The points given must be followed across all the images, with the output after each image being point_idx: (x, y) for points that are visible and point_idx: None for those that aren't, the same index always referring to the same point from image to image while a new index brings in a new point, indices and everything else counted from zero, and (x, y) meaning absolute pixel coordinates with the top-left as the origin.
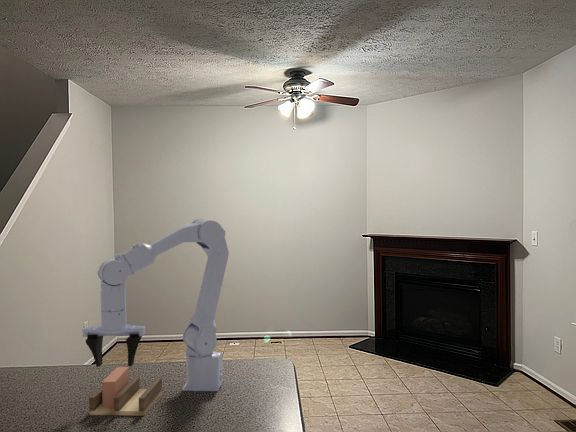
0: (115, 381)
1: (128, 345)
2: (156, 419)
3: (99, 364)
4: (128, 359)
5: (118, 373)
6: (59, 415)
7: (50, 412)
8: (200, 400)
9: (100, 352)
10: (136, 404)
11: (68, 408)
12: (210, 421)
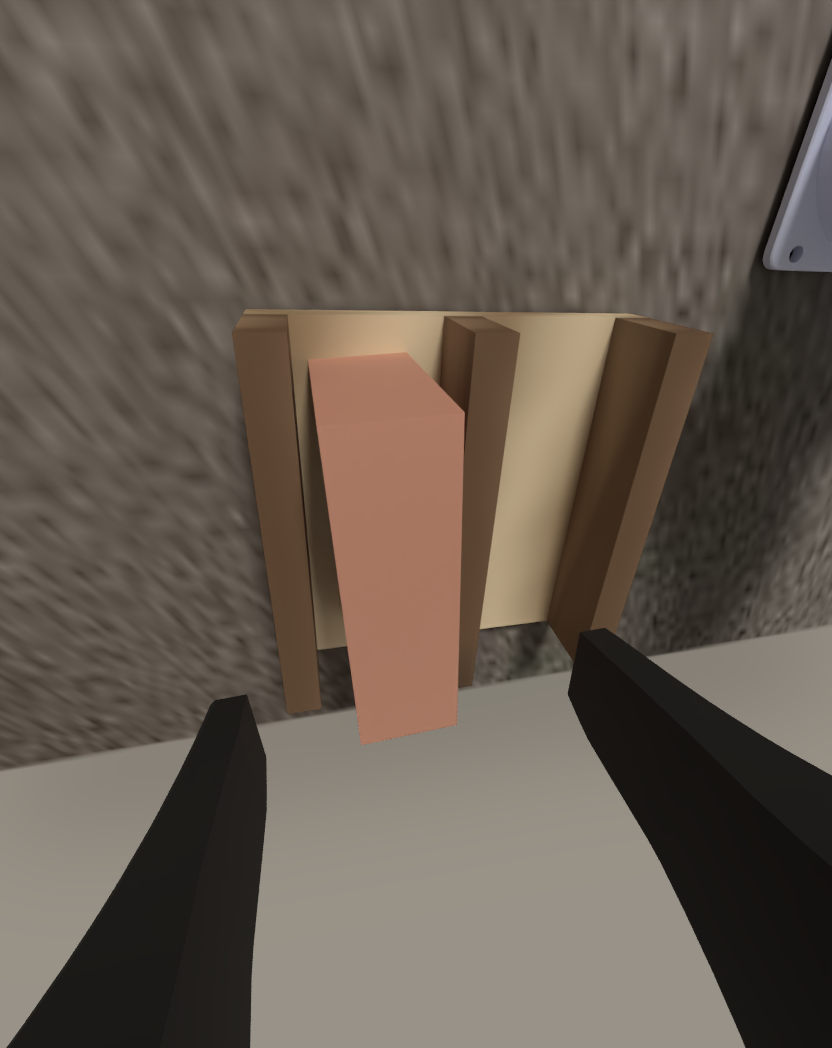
0: (456, 717)
1: (748, 1005)
2: None
3: (261, 767)
4: (613, 771)
5: (419, 590)
6: (106, 653)
7: (7, 635)
8: (823, 407)
9: (222, 876)
10: (518, 559)
11: (82, 578)
12: (802, 596)
